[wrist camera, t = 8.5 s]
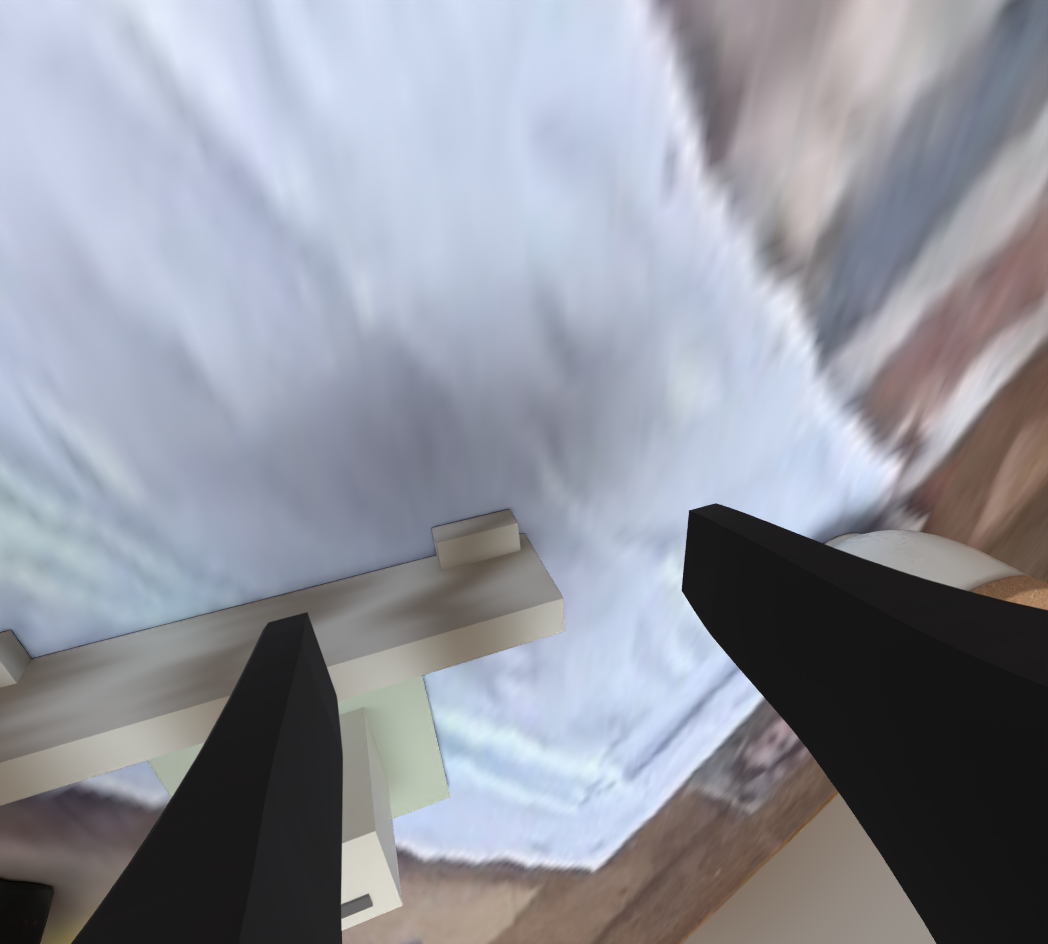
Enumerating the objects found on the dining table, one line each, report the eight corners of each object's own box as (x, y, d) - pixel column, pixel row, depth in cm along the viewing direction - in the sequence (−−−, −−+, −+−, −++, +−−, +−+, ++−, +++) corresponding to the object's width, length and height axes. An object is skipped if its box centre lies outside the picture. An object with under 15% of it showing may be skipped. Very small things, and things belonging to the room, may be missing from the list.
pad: (413, 638, 22) (415, 649, 21) (447, 785, 27) (450, 797, 26) (134, 719, 19) (129, 734, 19) (227, 865, 24) (225, 880, 24)
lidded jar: (713, 599, 27) (876, 769, 19) (883, 453, 26) (1125, 568, 18) (785, 682, 33) (933, 839, 25) (926, 565, 32) (1124, 689, 24)
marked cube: (363, 707, 22) (375, 834, 18) (387, 781, 24) (402, 908, 20) (229, 749, 21) (207, 897, 16) (268, 823, 23) (258, 968, 19)
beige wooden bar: (522, 505, 21) (562, 568, 17) (529, 586, 23) (566, 656, 19) (-133, 664, 16) (-253, 794, 12) (-52, 750, 18) (-137, 882, 14)
